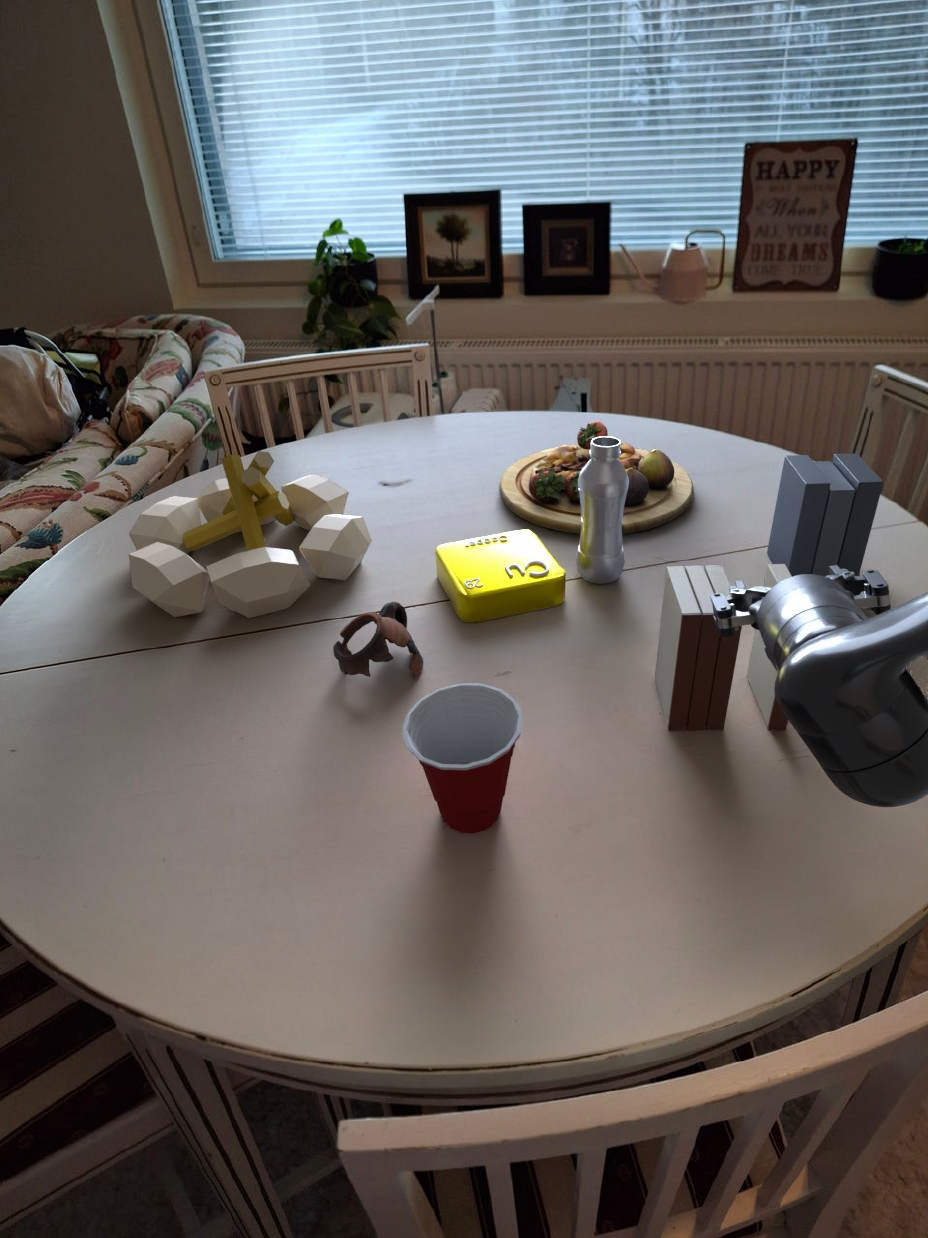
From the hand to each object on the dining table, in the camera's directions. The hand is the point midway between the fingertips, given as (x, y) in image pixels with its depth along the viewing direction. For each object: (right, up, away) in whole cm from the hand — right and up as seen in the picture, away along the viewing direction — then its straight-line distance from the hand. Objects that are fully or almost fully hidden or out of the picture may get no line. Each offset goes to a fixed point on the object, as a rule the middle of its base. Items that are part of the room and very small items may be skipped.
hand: (785, 583), depth 77 cm
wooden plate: (-9, +17, +57) cm, 60 cm away
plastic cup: (-31, -22, 0) cm, 38 cm away
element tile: (-26, +1, +34) cm, 43 cm away
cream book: (+2, -13, +12) cm, 17 cm away
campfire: (-63, +5, +44) cm, 77 cm away
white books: (-6, -13, +12) cm, 19 cm away
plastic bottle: (-12, +2, +35) cm, 37 cm away
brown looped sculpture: (-41, -9, +21) cm, 47 cm away
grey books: (+17, +4, +34) cm, 38 cm away
